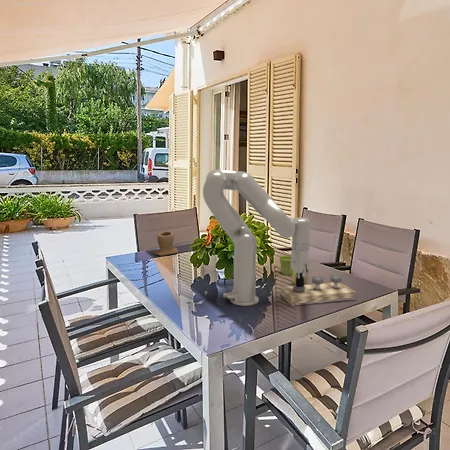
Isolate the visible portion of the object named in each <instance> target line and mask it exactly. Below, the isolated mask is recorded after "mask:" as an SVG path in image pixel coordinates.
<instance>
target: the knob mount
mask: <svg viewBox="0 0 450 450" xmlns="http://www.w3.org/2000/svg"><path fill="white" fill-rule="evenodd" d="M333 285H334V282H326V283H325V282H324V283H323V284H320V290H318V291H316V290H315V284H314V283H312V284H305V285H304V286H305V292H301V293H298V292H294V291H293V285H288V286H280V289H279V291H280V293H279V295H280V294H281V295H282V296H283V297H284V298H285V299H286V300H288V301H289V302H290V303H291V304H298V303H307V302H318V301H327V300H334V299H342V298H352V297H355V298H356V296H357V295H356V293H357V291H355V290H354V289H353V288H350V287H349V286H348V285H345V284H343V283H342V282H340V283H338V289H333ZM282 296H281V297H282ZM283 297H282V298H283ZM284 298H283V299H284ZM285 299H284V300H285ZM286 300H285V301H286Z"/></svg>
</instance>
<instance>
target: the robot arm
mask: <svg viewBox="0 0 450 450" xmlns="http://www.w3.org/2000/svg"><path fill="white" fill-rule="evenodd" d="M224 190H229V191H238V193H239V194H240V195H241V196H242V197H243V198H244V199H245V200H246V201H247V203H248V204H249V205H250V206H251V207H252V208H253V210H255V212H257V213H258V215H260V216H261V217H262V218H264V219H265V220H266V221H267V222H268V223H269V225H270V226H271V227H272V228H273V229H274V231H275V232H276V233H277V234H279V236H280V237H282V238H284V239H285V238H286V239H290V238H291V254H290V256H291V269H293V270H294V271H295V275H296V286H297V287H303V286H304V278H305V279H306V277H307V273H309V271H310V254H309V250H310V242H311V241H310V240H311V221H310V219H309V218H308V217H295V218H294V217H288V214H286V213H285V211H283V210H282V209H281V208H280V207H279V206H278V204H277V203H276V201H275V200H274V199H273V198H272V197H271V195H270V194H269V193H268V192H267V191H266V190H265V189H264V188H263V187H262V186H261V185H260V184H259V182H258V181H256V179H255V178H254V177H253V176H252V175H251V174H250V173H248V172H246V171H240V170H239V171H238V170H237V171H235V170H225V169H212V170H210V171H209V172H208V173H207V175H206V178H205V182H204V184H203V188H202V194H203V195H202V196H203V200H204V203H205V205H206V206H207V208H208V209H209V210H210V212H211V214H212V215H213V217H214V218H215V220H216V221H217V222H218V224H219V226H220V228H221V229H222V230H223V231H224V232H225V233H226V234H227V235H228V237H229V238H230V240H231V241H232V243H233V289H232V290H231V291H230V292H223V293H222V297H223V299H224V298H226V299H229V301H230V302H231V304H233V305H235V306H244V307H248V306H254V305H257V304H258V303H259V301H260V298H259V297H258V296H257V295H256V273H257V272H256V271H257V270H256V268H257V267H256V266H257V265H256V263H257V261H256V259H257V248H258V247H257V246H258V244H257V242H258V241H257V239H256V236H255V235H254V233H253V232H252V230H251V229H250V227H249V226H248V225H247V223H246V222H245V221H244V219H243V217H242V216H241V215H240V213H239V212H238V211H237V210H236V209H234V207H233V205H231V203H230V202H229V200H228V198H227V197H226V196H225V193H224Z"/></svg>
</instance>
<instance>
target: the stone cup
mask: <svg viewBox="0 0 450 450" xmlns="http://www.w3.org/2000/svg"><path fill="white" fill-rule="evenodd" d="M156 238H157V244H158V246H159V247H158V248H159V249H158V250H156V251H154V253H155V255H157V256H161V257H162V256H168V255H172V254H177V253H179V250H178V248H177V247H176V246H174V247H173V244H174V240H175V235H174V233H173V232H172V231H169V230H168V231H167V230H165V231H162V232H158V234H157V237H156Z"/></svg>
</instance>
